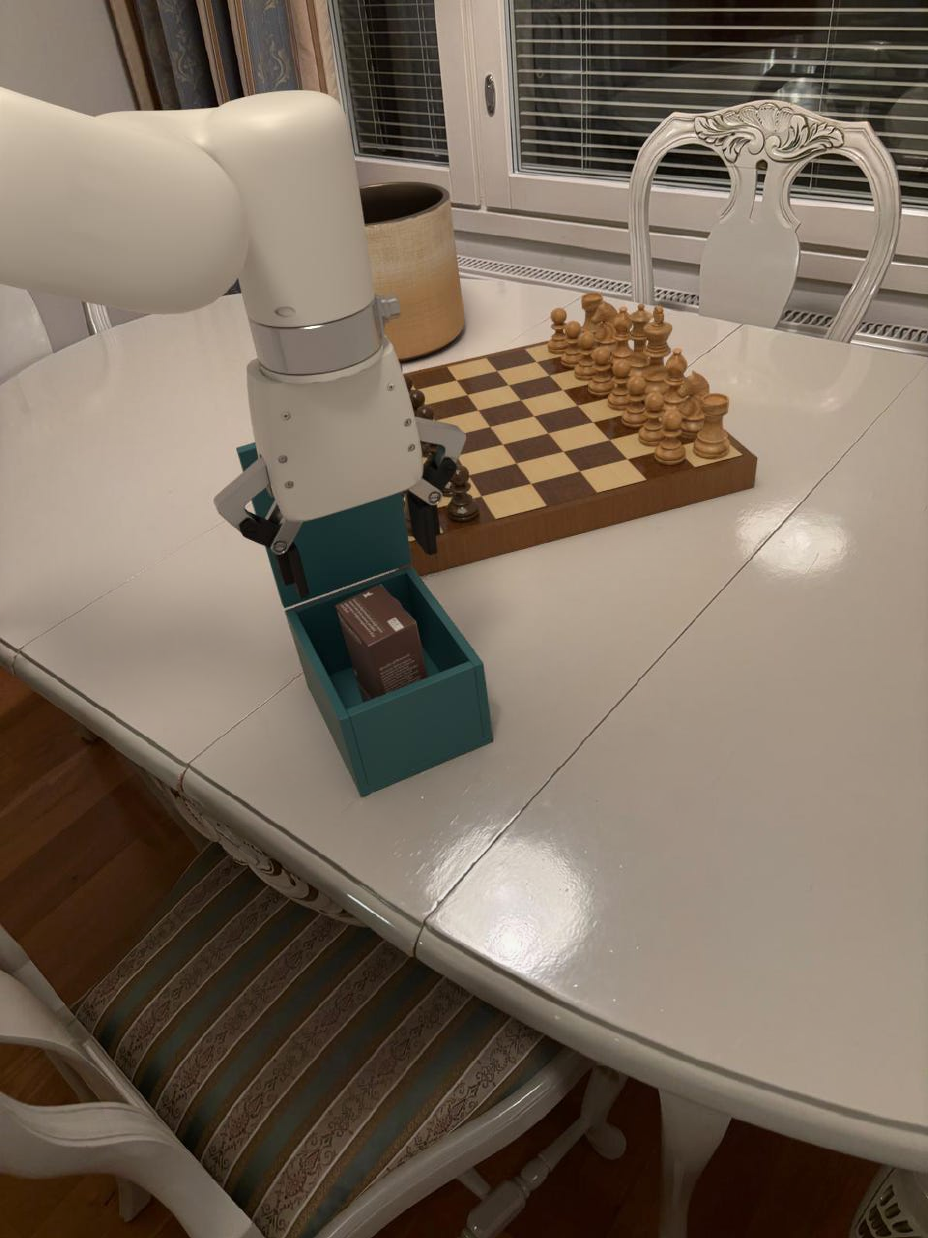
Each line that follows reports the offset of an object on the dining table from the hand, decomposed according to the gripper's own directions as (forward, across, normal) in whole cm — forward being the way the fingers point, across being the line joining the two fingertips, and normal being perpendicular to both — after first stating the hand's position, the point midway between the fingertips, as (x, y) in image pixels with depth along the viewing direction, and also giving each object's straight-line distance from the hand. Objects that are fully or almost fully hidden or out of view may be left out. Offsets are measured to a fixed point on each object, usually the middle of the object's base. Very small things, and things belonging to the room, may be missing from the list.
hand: (363, 566), depth 63 cm
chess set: (+17, -30, -36) cm, 50 cm away
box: (+16, 0, 0) cm, 17 cm away
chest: (+17, -1, -2) cm, 17 cm away
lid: (0, 0, -8) cm, 8 cm away
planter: (+17, -30, -78) cm, 85 cm away
